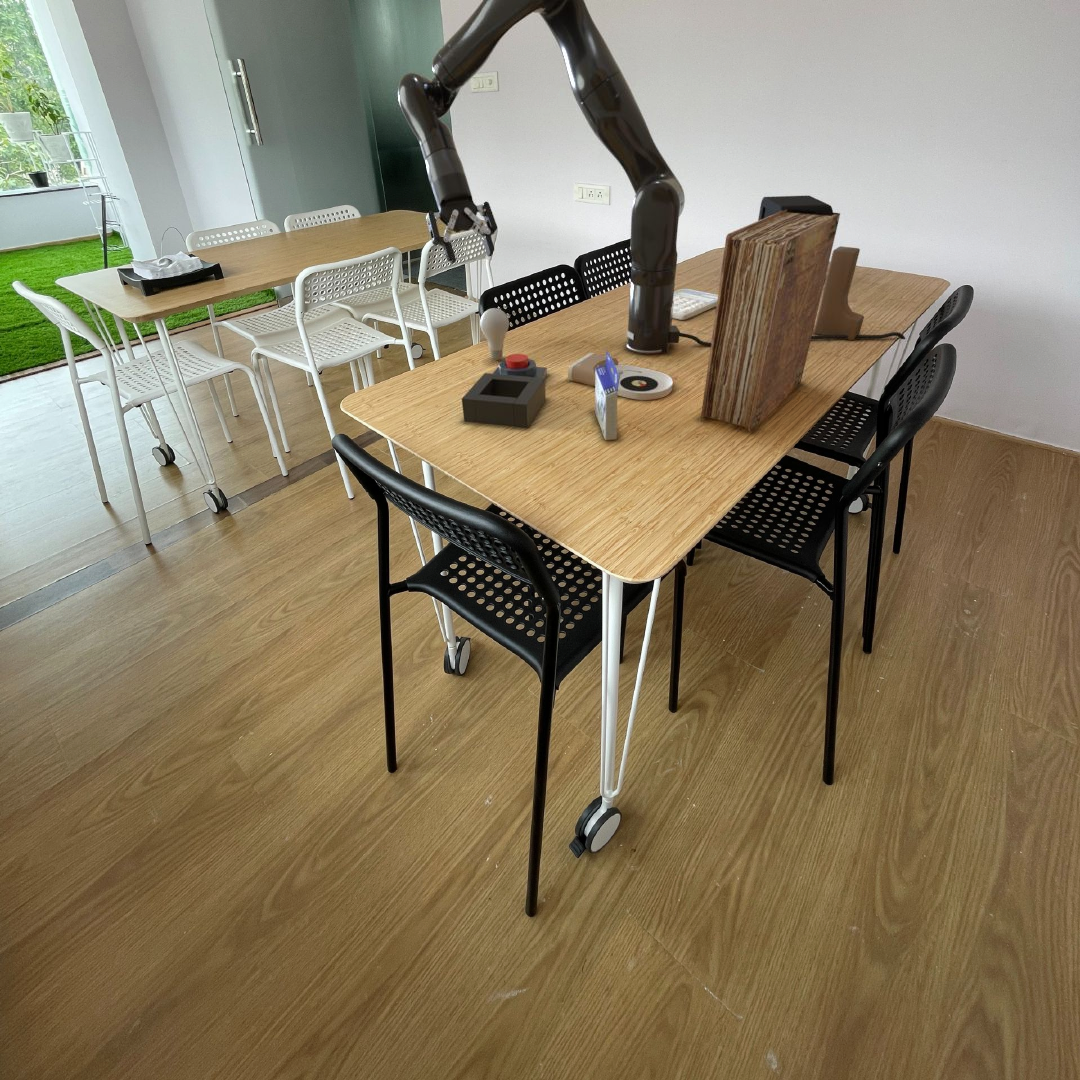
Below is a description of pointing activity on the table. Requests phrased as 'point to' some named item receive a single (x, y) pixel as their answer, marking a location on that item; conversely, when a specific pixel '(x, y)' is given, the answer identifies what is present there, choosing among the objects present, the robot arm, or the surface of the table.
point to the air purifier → (791, 205)
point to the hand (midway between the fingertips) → (472, 258)
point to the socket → (504, 400)
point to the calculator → (692, 303)
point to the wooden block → (839, 297)
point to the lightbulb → (495, 330)
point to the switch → (522, 370)
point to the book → (766, 313)
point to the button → (517, 361)
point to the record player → (623, 378)
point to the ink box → (607, 398)
